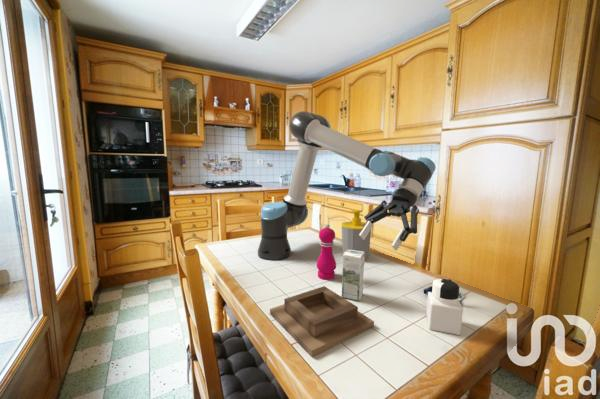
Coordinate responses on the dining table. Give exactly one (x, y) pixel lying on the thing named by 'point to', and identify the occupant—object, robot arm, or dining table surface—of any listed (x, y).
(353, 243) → the soap bottle
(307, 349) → the walnut holder
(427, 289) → the snack package
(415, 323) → the dining table surface
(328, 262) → the pepper mill
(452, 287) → the white bottle
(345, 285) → the syrup box
